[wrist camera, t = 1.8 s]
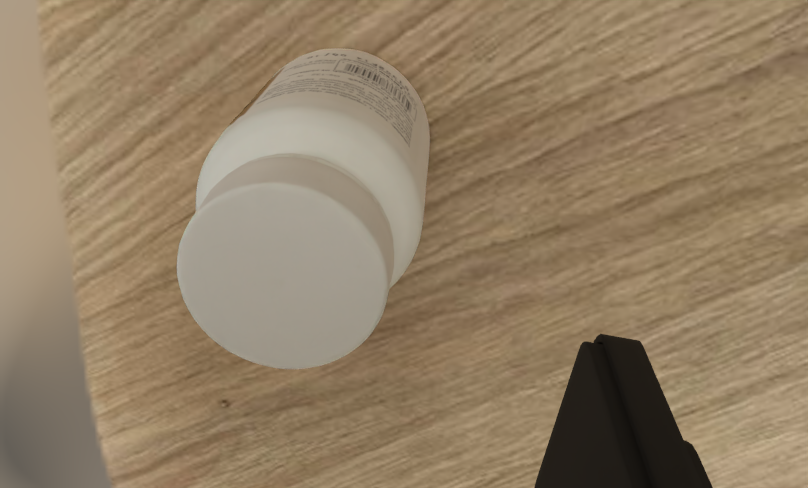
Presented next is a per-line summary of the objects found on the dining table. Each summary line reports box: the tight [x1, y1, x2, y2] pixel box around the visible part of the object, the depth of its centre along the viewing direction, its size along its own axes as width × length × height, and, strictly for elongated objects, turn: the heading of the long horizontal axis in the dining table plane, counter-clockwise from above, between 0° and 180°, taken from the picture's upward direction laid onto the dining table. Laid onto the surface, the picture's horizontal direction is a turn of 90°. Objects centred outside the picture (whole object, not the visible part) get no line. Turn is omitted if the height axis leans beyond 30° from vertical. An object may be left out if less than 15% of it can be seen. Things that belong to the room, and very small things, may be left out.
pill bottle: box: [177, 48, 430, 369], centre depth 15 cm, size 4×4×8 cm
